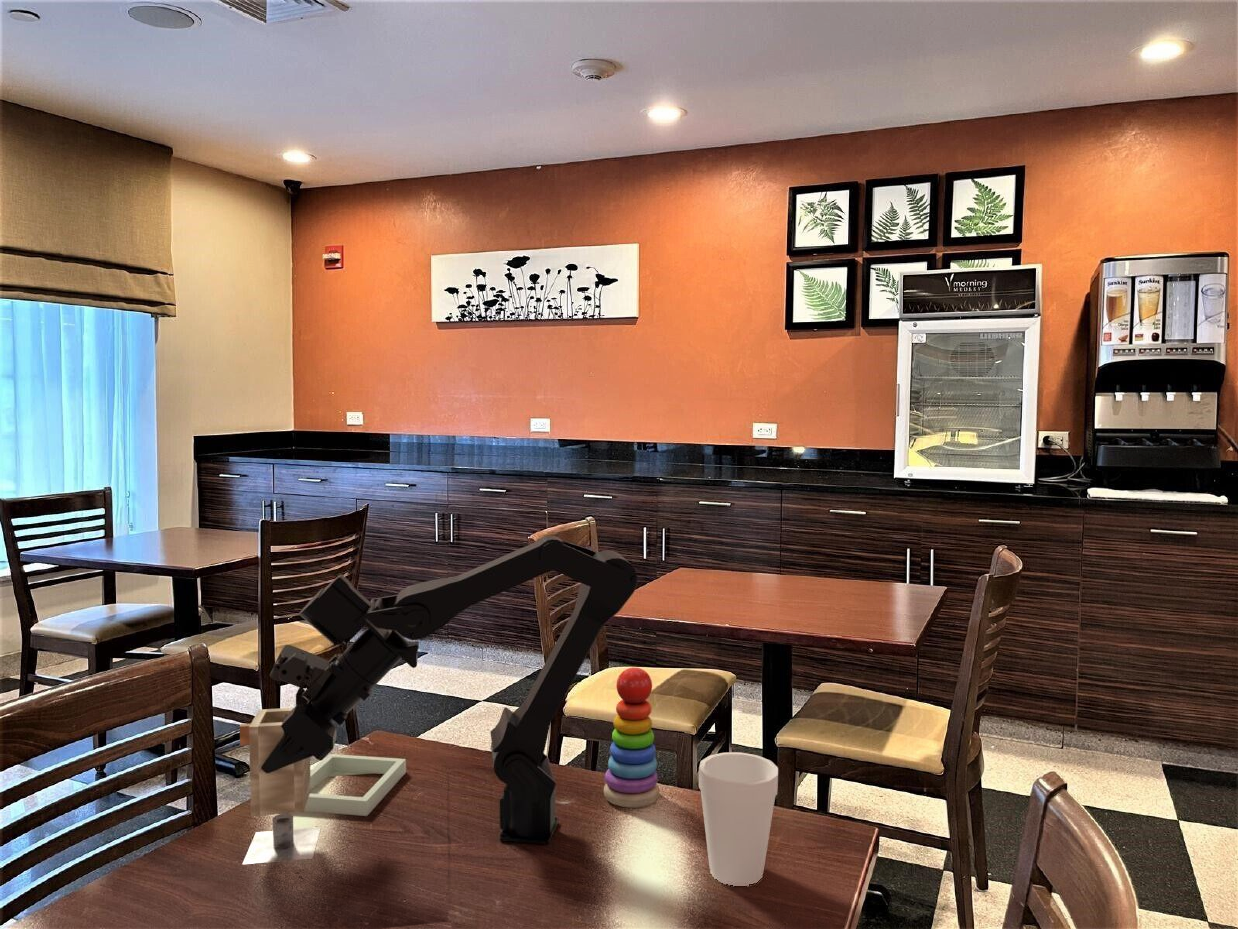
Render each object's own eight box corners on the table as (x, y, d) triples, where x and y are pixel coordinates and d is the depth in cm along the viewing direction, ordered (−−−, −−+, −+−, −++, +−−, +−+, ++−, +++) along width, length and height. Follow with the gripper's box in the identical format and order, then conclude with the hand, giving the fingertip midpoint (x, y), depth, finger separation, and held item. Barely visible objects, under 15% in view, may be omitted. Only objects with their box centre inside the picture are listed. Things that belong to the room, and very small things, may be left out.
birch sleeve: (310, 790, 114) (309, 706, 114) (303, 812, 109) (301, 724, 108) (247, 795, 113) (245, 710, 112) (237, 817, 107) (234, 728, 106)
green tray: (406, 778, 133) (405, 759, 133) (366, 823, 119) (366, 801, 119) (329, 773, 135) (329, 754, 135) (282, 816, 121) (282, 794, 121)
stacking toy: (660, 811, 124) (661, 678, 122) (602, 810, 124) (603, 677, 122) (658, 786, 131) (660, 661, 130) (604, 785, 132) (605, 660, 130)
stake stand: (321, 834, 116) (320, 801, 116) (312, 866, 108) (311, 830, 108) (256, 840, 115) (255, 806, 114) (242, 872, 107) (241, 836, 106)
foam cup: (725, 902, 102) (727, 791, 101) (682, 864, 110) (684, 761, 109) (792, 881, 106) (794, 775, 105) (746, 846, 114) (748, 747, 113)
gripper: (321, 607, 119) (235, 693, 118) (299, 645, 101) (197, 747, 100) (383, 662, 121) (299, 747, 120) (372, 709, 103) (274, 810, 102)
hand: (269, 760), depth 110 cm, fingers closed on birch sleeve, 6 cm apart
